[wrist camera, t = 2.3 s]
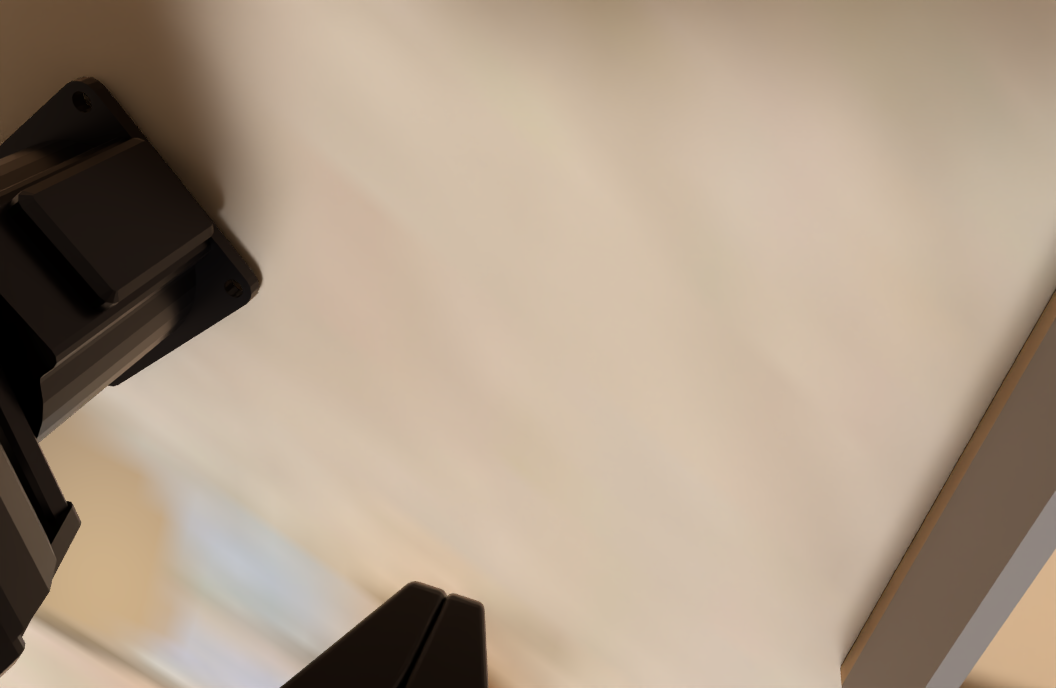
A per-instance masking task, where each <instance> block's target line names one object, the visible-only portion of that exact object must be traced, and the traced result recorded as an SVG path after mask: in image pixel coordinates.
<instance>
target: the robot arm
mask: <svg viewBox="0 0 1056 688" xmlns="http://www.w3.org/2000/svg"><path fill="white" fill-rule="evenodd" d="M83 92H84V93H85V94H86V95H87V96H88V97H89V99H90V100H91V104H92V108H91V107H90V106H89V105H88V104H87V103H86V101H85V100H84V96H83ZM232 280H235V281H237V282H238V283H239V284H240V285H241V287H242V289H243V291H242V290H239V289H238V288H236V287H235V286H234V284H233V282H232ZM258 290H259V283H258V279H257V278H256V276H255V274H254V273H253V271H252V270H251V269H250V268H249V266H248V265H247V264H246V263H245V261H244V260H243V259H242V258H241V256H240V255H239V254H238V253H237V251H236V250H235V249H234V248H233V246H232V245H231V244H230V243H229V241H228V240H227V239H226V238H225V236H224V235H223V234H222V233H221V231H220V230H219V229H218V228H217V226H216V225H215V224H214V223H213V221H212V220H211V219H210V218H209V216H208V215H207V214H206V213H205V211H204V210H203V209H202V208H201V206H200V205H199V204H198V203H197V201H196V200H195V199H194V198H193V196H192V195H191V194H190V193H189V191H188V190H187V189H186V188H185V186H184V185H183V184H182V183H181V181H180V180H179V179H178V178H177V176H176V175H175V174H174V173H173V171H172V170H171V169H170V168H169V166H168V165H167V164H166V163H165V161H164V160H163V159H162V157H161V156H160V155H159V154H158V152H157V151H156V150H155V149H154V147H153V146H152V145H151V144H150V142H149V141H148V140H147V139H146V137H145V136H144V135H143V134H142V132H141V131H140V130H139V129H138V127H137V126H136V125H135V124H134V122H133V121H132V120H131V119H130V117H129V116H128V115H127V114H126V112H125V111H124V110H123V109H122V107H121V106H120V105H119V104H118V102H117V101H116V100H115V99H114V97H113V96H112V95H111V94H110V92H109V91H108V90H107V89H106V87H105V86H104V85H103V84H101V83H100V82H99V81H98V80H96V79H94V78H92V77H82V78H80V79H77V80H74V81H71V82H69V83H68V84H66V85H65V86H64V87H63V88H62V89H61V90H60V91H59V92H58V93H56V94H55V95H54V96H53V97H52V98H51V99H50V100H49V101H48V102H47V103H46V104H45V105H44V106H43V107H41V108H40V109H39V110H38V111H37V112H36V113H35V114H34V115H33V116H32V117H31V118H30V119H29V120H27V121H26V122H25V123H24V124H23V125H22V126H21V127H20V128H19V129H18V130H17V131H16V132H15V133H13V134H12V135H11V136H10V137H9V138H8V139H7V140H6V141H5V142H4V143H3V144H2V145H1V146H0V677H1V676H2V675H3V674H4V673H5V672H6V671H8V670H9V669H10V668H11V667H12V666H13V665H14V664H15V663H16V661H17V660H18V658H19V657H20V655H21V654H22V652H23V651H24V649H25V642H24V640H23V638H22V636H23V634H24V632H25V630H26V628H27V626H28V625H29V623H30V621H31V619H32V617H33V616H34V614H35V613H36V611H37V610H38V608H39V607H40V605H41V604H42V602H43V601H44V599H45V598H46V596H47V595H48V593H49V591H50V587H51V583H52V579H53V577H54V575H55V573H56V571H57V569H58V567H59V565H60V563H61V562H62V560H63V558H64V556H65V554H66V552H67V550H68V548H69V546H70V544H71V542H72V541H73V539H74V537H75V535H76V533H77V531H78V529H79V527H80V525H81V521H80V519H79V516H78V514H77V512H76V510H75V508H74V506H73V504H72V503H71V502H69V501H66V500H65V498H64V496H63V494H62V492H61V489H60V487H59V485H58V483H57V481H56V479H55V477H54V475H53V473H52V471H51V469H50V466H49V464H48V462H47V460H46V458H45V456H44V454H43V452H42V450H41V447H40V445H39V442H40V441H41V440H43V439H44V438H45V437H46V436H47V435H49V434H50V433H51V432H52V431H53V430H55V429H56V428H57V427H58V426H59V425H61V424H62V423H63V422H64V421H66V420H67V419H68V418H69V417H70V416H72V415H73V414H74V413H75V412H76V411H78V410H79V409H80V408H81V407H82V406H84V405H85V404H86V403H87V402H89V401H90V400H91V399H92V398H93V397H95V396H96V395H97V394H98V393H99V392H101V391H102V390H103V389H104V388H105V387H107V386H116V385H119V384H120V383H122V382H124V381H125V380H127V379H128V378H130V377H132V376H133V375H135V374H136V373H138V372H140V371H141V370H143V369H144V368H146V367H147V366H149V365H151V364H152V363H154V362H155V361H157V360H159V359H160V358H162V357H163V356H165V355H166V354H168V353H170V352H171V351H173V350H174V349H176V348H178V347H179V346H181V345H182V344H184V343H185V342H187V341H189V340H190V339H192V338H193V337H195V336H197V335H198V334H200V333H201V332H203V331H205V330H206V329H208V328H209V327H211V326H212V325H214V324H216V323H217V322H219V321H220V320H222V319H224V318H225V317H227V316H228V315H230V314H231V313H233V312H235V311H236V310H238V309H239V308H241V307H243V306H244V305H246V304H247V303H248V302H249V301H250V300H251V299H253V298H254V297H255V296H256V295H257V293H258ZM280 688H488V671H487V650H486V629H485V610H484V606H483V604H482V603H481V602H479V601H476V600H473V599H470V598H467V597H464V596H461V595H458V594H453V593H452V594H449V595H448V596H447V595H446V593H445V591H443V590H442V589H439V588H436V587H433V586H430V585H427V584H424V583H421V582H417V581H414V582H410V583H408V584H407V585H406V586H404V587H403V588H402V589H401V590H399V591H398V592H397V593H396V594H394V595H393V596H392V597H391V598H389V599H388V600H387V601H386V602H385V603H383V604H382V605H381V606H380V607H378V608H377V609H376V610H375V611H373V612H372V613H371V614H370V615H369V616H367V617H366V618H365V619H364V620H362V621H361V622H360V623H359V624H358V625H356V626H355V627H354V628H353V629H351V630H350V631H349V632H348V633H346V634H345V635H344V636H343V637H342V638H340V639H339V640H338V641H337V642H335V643H334V644H333V645H332V646H331V647H329V648H328V649H327V650H326V651H324V652H323V653H322V654H321V655H319V656H318V657H317V658H316V659H315V660H313V661H312V662H311V663H310V664H308V665H307V666H306V667H305V668H304V669H302V670H301V671H300V672H299V673H297V674H296V675H295V676H294V677H292V678H291V679H290V680H289V681H288V682H286V683H285V684H284V685H283V686H281V687H280Z"/></svg>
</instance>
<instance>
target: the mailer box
mask: <svg viewBox="0 0 1056 688" xmlns="http://www.w3.org/2000/svg"><path fill="white" fill-rule="evenodd" d="M840 670H841V683H842V688H1056V291H1055V292H1054V294H1053V296H1052V298H1051V299H1050V301H1049V303H1048V305H1047V306H1046V308H1045V310H1044V312H1043V313H1042V315H1041V317H1040V319H1039V320H1038V322H1037V324H1036V326H1035V327H1034V329H1033V331H1032V333H1031V335H1030V336H1029V338H1028V340H1027V342H1026V343H1025V345H1024V347H1023V349H1022V350H1021V352H1020V354H1019V356H1018V357H1017V359H1016V361H1015V363H1014V364H1013V366H1012V368H1011V370H1010V371H1009V373H1008V375H1007V377H1006V378H1005V380H1004V382H1003V384H1002V385H1001V387H1000V389H999V391H998V392H997V394H996V396H995V398H994V399H993V401H992V403H991V405H990V406H989V408H988V410H987V412H986V413H985V415H984V417H983V419H982V420H981V422H980V424H979V426H978V427H977V429H976V431H975V433H974V435H973V436H972V438H971V440H970V442H969V443H968V445H967V447H966V449H965V450H964V452H963V454H962V456H961V457H960V459H959V461H958V463H957V464H956V466H955V468H954V470H953V471H952V473H951V475H950V477H949V478H948V480H947V482H946V484H945V485H944V487H943V489H942V491H941V492H940V494H939V496H938V498H937V499H936V501H935V503H934V505H933V506H932V508H931V510H930V512H929V513H928V515H927V517H926V519H925V520H924V522H923V524H922V526H921V528H920V529H919V531H918V533H917V535H916V536H915V538H914V540H913V542H912V543H911V545H910V547H909V549H908V550H907V552H906V554H905V556H904V557H903V559H902V561H901V563H900V564H899V566H898V568H897V570H896V571H895V573H894V575H893V577H892V578H891V580H890V582H889V584H888V585H887V587H886V589H885V591H884V592H883V594H882V596H881V598H880V599H879V601H878V603H877V605H876V606H875V608H874V610H873V612H872V613H871V615H870V617H869V619H868V620H867V622H866V624H865V626H864V628H863V629H862V631H861V633H860V635H859V636H858V638H857V640H856V642H855V643H854V645H853V647H852V649H851V650H850V652H849V654H848V656H847V657H846V659H845V661H844V663H843V664H842V666H841V668H840Z"/></svg>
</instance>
